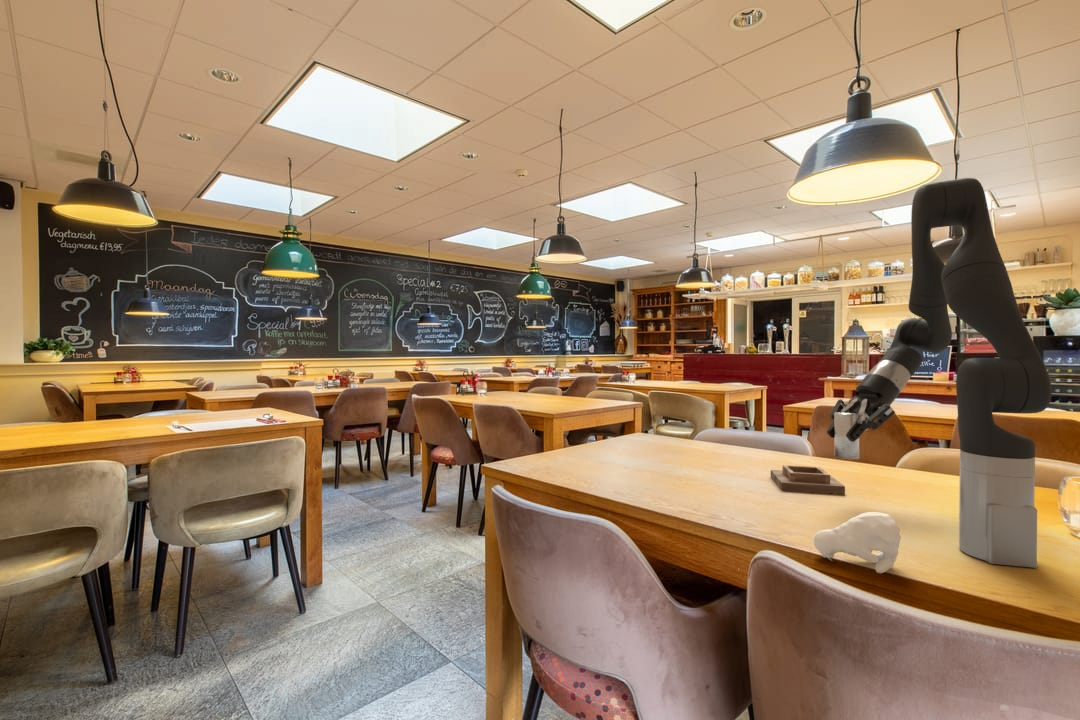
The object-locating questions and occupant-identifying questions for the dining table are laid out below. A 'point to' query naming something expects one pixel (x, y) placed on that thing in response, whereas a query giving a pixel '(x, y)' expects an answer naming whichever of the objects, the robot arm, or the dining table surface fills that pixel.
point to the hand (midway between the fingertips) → (839, 436)
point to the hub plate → (806, 480)
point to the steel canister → (841, 442)
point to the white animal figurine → (863, 539)
